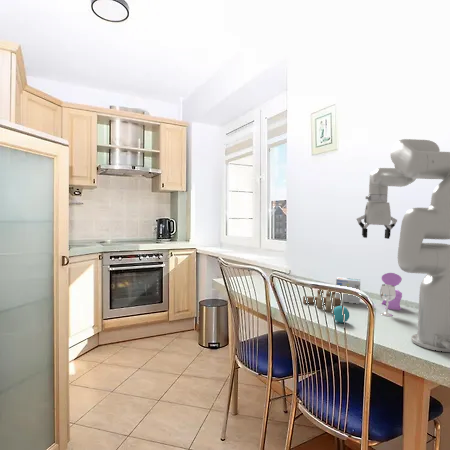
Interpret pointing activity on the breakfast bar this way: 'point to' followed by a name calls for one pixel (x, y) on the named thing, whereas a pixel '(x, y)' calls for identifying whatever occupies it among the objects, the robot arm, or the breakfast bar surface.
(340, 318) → the ball
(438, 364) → the breakfast bar surface
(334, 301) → the rear right pin
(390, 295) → the wineglass
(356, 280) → the light bulb box
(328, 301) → the front pin
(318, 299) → the rear left pin
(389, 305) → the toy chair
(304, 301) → the back rail
